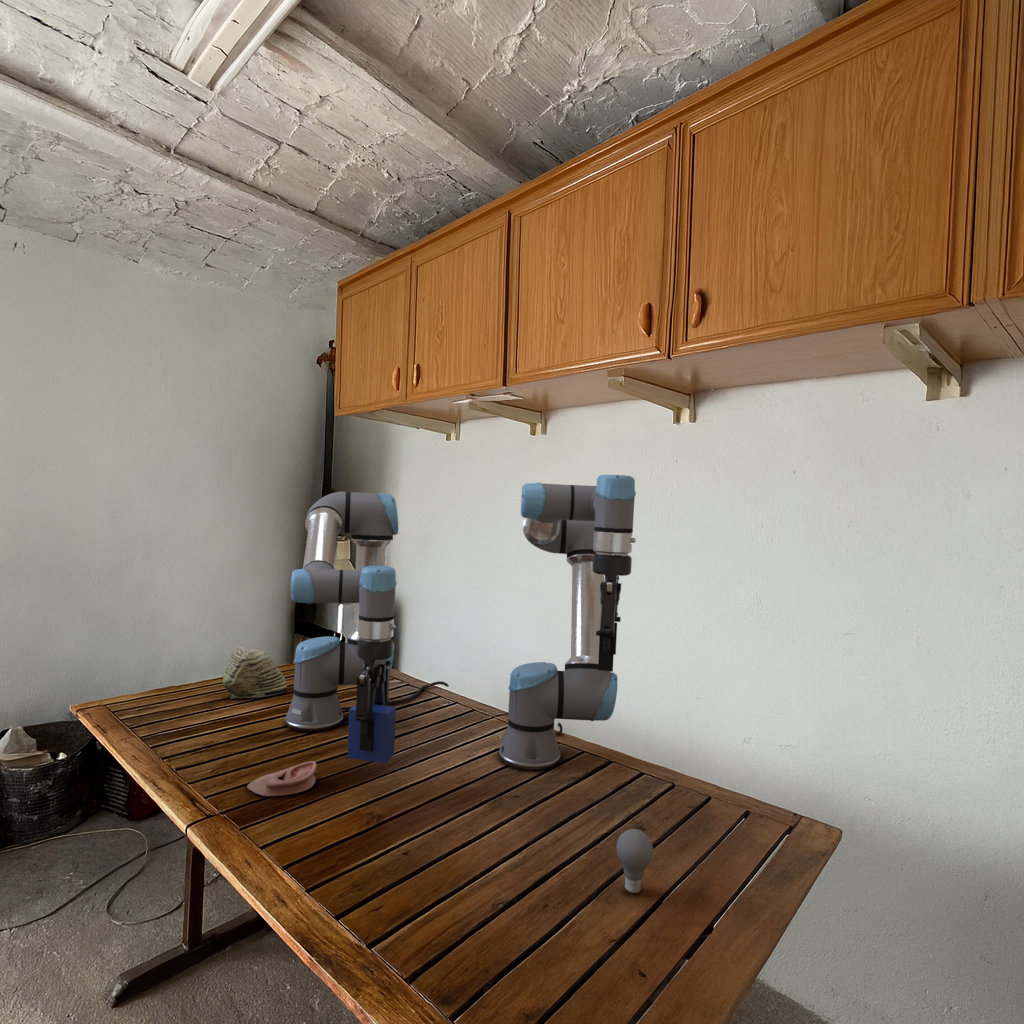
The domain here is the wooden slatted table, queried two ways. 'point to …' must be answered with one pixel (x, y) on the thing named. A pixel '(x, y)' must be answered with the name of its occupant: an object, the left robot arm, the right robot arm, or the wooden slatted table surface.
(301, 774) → the anatomical model
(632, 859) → the light bulb
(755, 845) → the wooden slatted table surface
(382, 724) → the brick
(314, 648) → the left robot arm
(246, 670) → the fossil
